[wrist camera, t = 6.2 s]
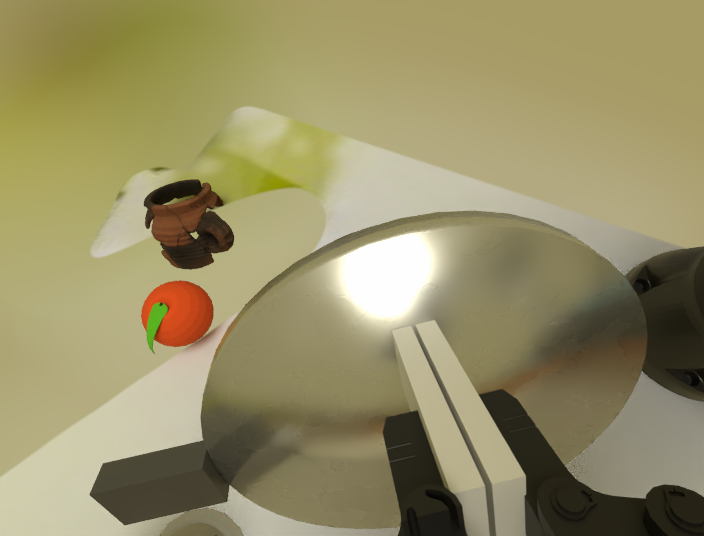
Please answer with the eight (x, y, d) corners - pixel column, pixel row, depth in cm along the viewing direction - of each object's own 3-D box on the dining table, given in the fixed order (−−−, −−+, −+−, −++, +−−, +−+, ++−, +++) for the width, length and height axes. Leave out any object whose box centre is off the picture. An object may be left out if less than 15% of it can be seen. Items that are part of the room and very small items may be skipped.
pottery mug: (149, 264, 47) (116, 205, 42) (204, 225, 53) (182, 170, 48) (219, 288, 42) (192, 224, 37) (272, 242, 48) (255, 182, 43)
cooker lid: (684, 154, 13) (737, 171, 12) (588, 463, 25) (609, 494, 23) (-29, 315, 13) (-73, 354, 12) (205, 552, 24) (199, 589, 23)
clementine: (205, 368, 41) (171, 360, 35) (149, 351, 42) (106, 340, 36) (232, 299, 44) (206, 279, 37) (180, 285, 45) (145, 263, 38)
